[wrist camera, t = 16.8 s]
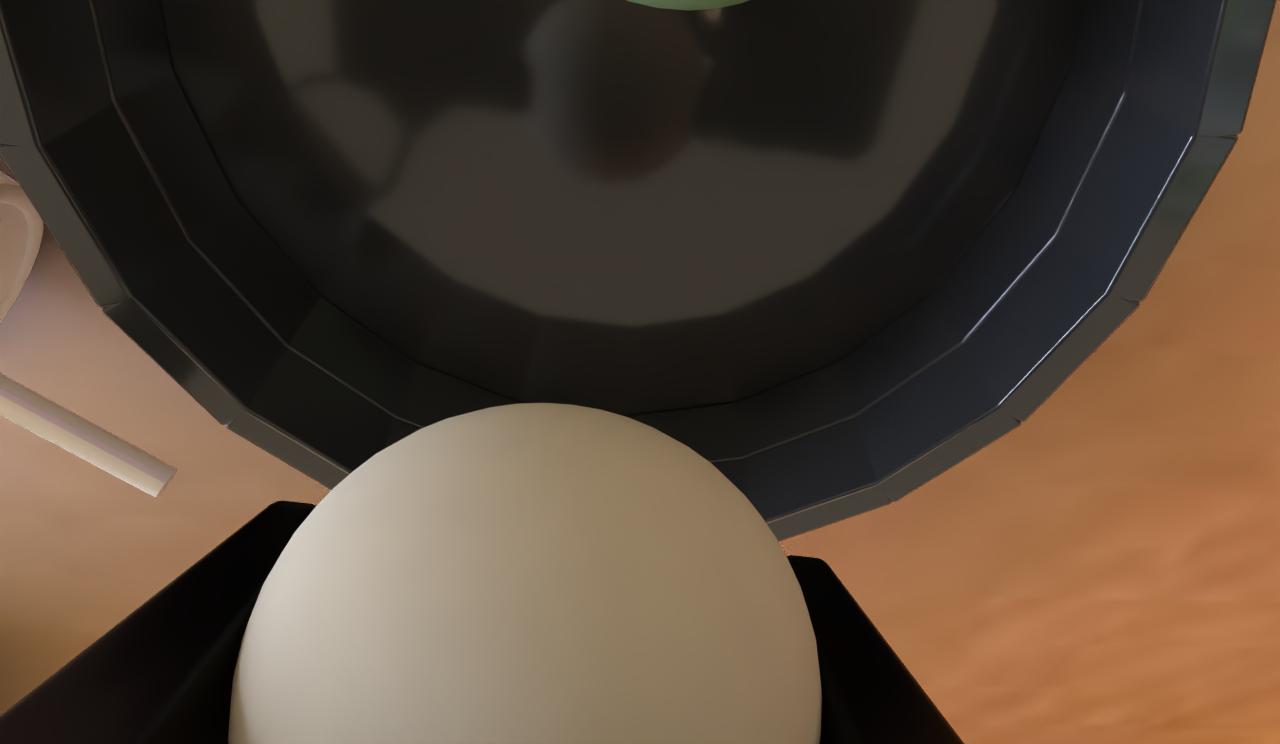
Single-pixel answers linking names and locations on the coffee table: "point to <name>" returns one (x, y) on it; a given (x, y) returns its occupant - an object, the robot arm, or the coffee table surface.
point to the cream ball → (530, 598)
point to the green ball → (688, 4)
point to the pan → (627, 211)
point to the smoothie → (3, 258)
